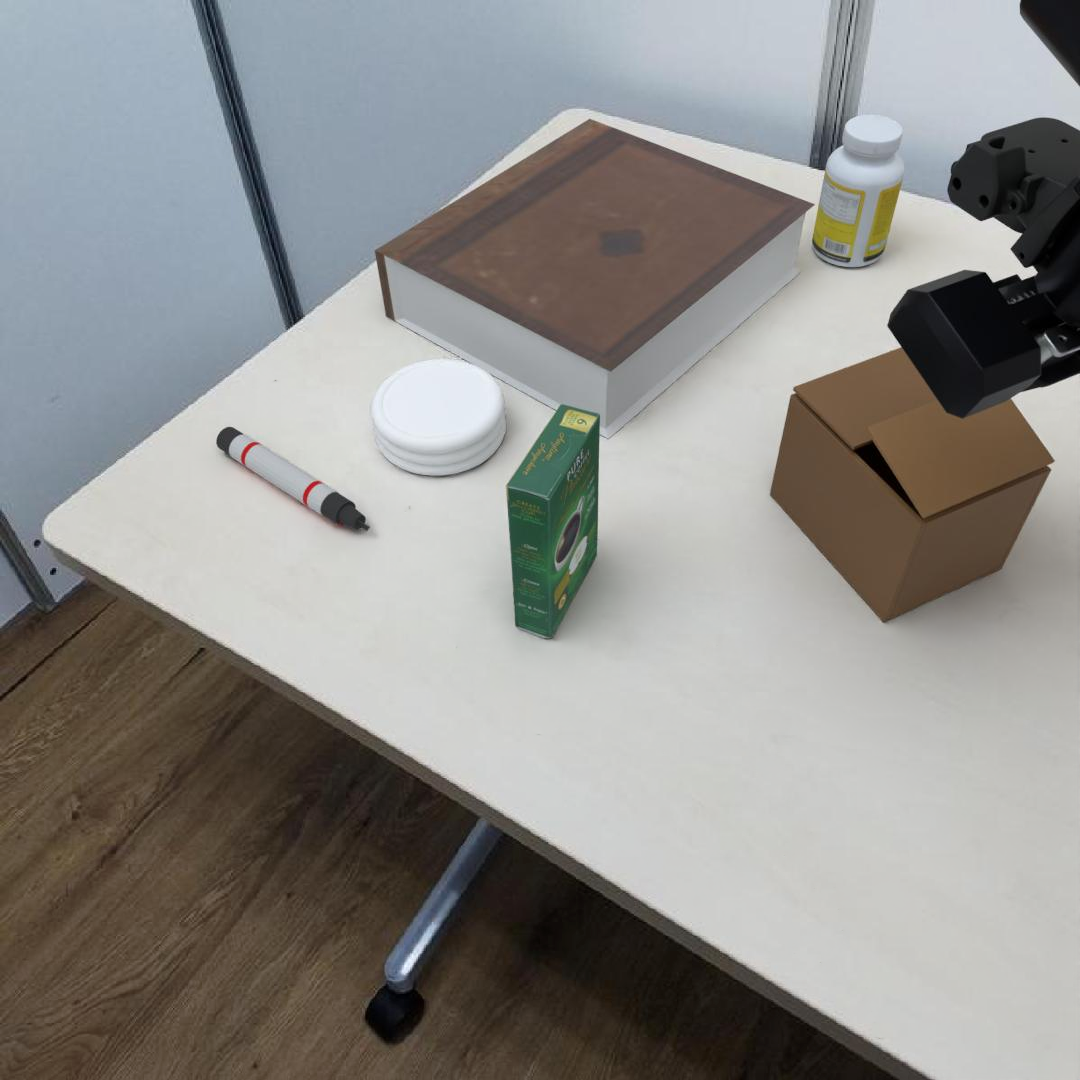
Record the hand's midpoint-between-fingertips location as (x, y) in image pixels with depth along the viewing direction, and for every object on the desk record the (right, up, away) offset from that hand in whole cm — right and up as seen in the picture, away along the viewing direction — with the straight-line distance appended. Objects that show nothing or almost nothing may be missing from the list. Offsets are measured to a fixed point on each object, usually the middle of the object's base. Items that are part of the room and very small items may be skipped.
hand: (990, 391), depth 56 cm
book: (-20, +13, +33) cm, 41 cm away
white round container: (-33, 0, +22) cm, 39 cm away
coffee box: (-24, -12, +12) cm, 29 cm away
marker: (-43, -5, +18) cm, 47 cm away
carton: (-1, -8, +14) cm, 16 cm away
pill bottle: (+3, +18, +36) cm, 41 cm away
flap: (0, -3, +4) cm, 5 cm away
